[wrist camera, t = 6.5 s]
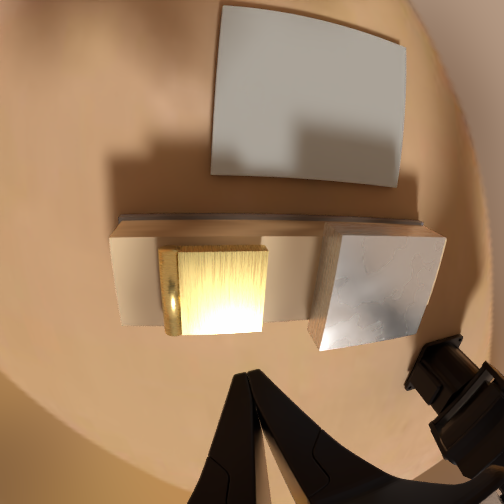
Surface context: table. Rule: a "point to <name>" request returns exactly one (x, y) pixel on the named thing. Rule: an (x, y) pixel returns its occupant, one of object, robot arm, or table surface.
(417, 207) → the table surface
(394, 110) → the mat
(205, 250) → the gold flat block
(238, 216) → the body
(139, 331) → the table surface
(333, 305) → the cap plate
